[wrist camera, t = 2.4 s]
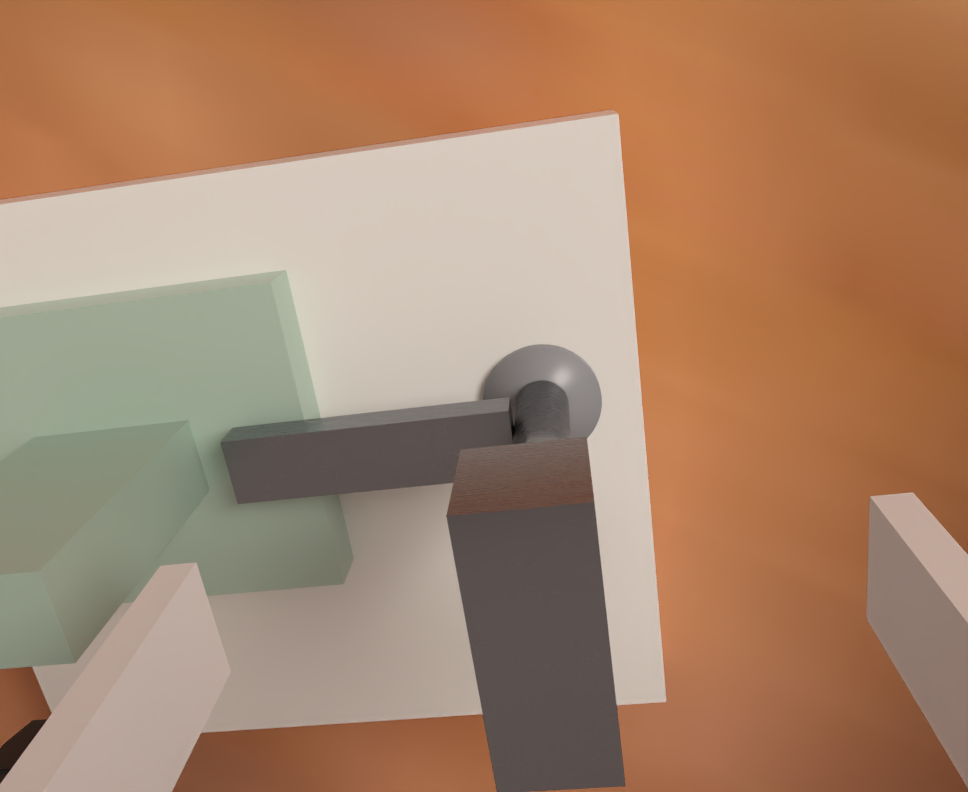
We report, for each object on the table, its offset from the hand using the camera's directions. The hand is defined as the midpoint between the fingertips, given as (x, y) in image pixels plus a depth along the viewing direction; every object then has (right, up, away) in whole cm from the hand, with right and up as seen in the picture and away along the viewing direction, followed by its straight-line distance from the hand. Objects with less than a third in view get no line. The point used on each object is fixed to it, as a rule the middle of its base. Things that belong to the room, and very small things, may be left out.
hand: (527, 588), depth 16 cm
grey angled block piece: (-3, +3, +9) cm, 10 cm away
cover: (-12, +2, +11) cm, 16 cm away
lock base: (-7, +2, +13) cm, 15 cm away
